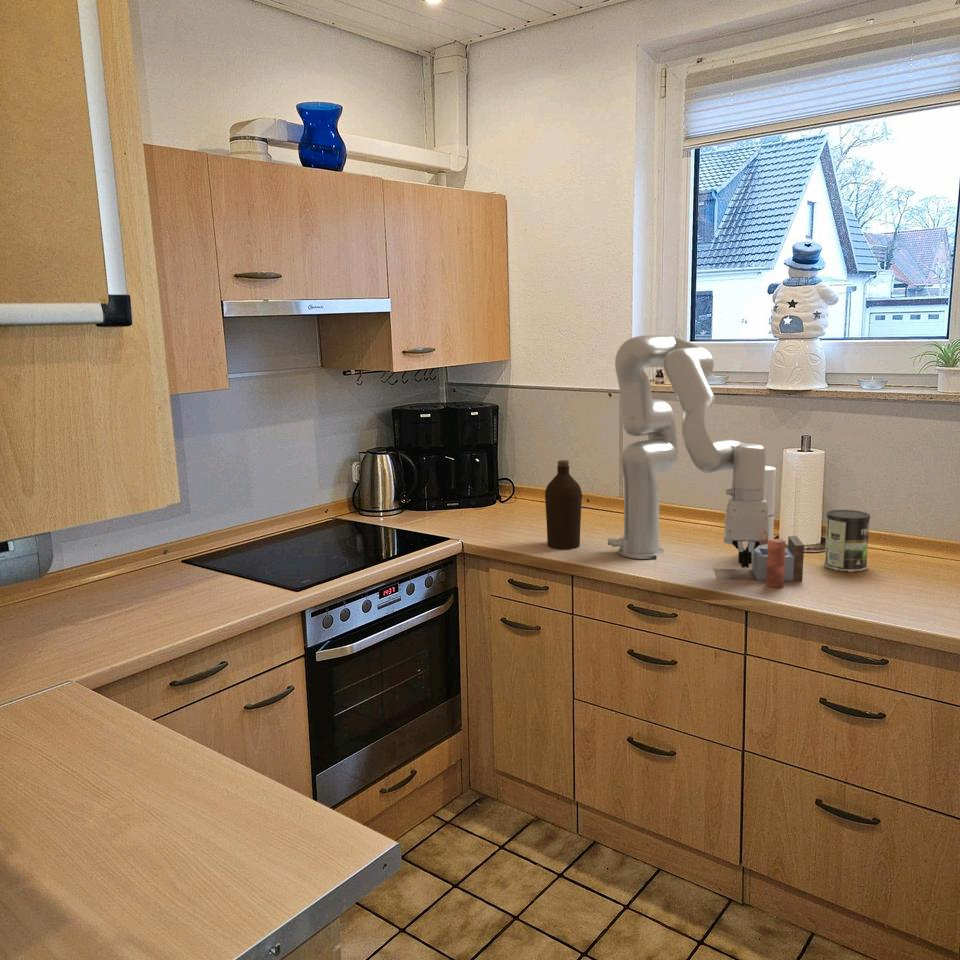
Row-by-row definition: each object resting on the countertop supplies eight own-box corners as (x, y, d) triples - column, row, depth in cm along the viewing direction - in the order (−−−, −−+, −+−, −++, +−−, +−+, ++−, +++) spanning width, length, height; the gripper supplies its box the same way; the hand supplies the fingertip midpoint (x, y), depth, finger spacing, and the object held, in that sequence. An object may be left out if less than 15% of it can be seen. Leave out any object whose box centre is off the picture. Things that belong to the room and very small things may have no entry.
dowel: (767, 592, 202) (769, 543, 200) (764, 586, 206) (766, 538, 203) (785, 592, 201) (787, 543, 199) (782, 587, 205) (784, 539, 203)
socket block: (757, 579, 208) (758, 556, 207) (752, 569, 216) (752, 547, 215) (793, 580, 206) (794, 557, 205) (787, 570, 215) (788, 547, 214)
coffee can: (869, 564, 222) (872, 511, 220) (863, 574, 214) (866, 519, 211) (827, 559, 228) (830, 507, 225) (820, 569, 219) (823, 515, 216)
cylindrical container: (773, 563, 225) (777, 470, 220) (745, 562, 226) (748, 470, 222) (770, 556, 232) (773, 465, 227) (743, 555, 233) (746, 465, 229)
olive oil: (563, 552, 240) (563, 465, 236) (537, 545, 248) (536, 461, 244) (589, 545, 247) (589, 460, 242) (563, 539, 255) (563, 456, 250)
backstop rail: (717, 583, 209) (718, 543, 208) (713, 572, 218) (714, 534, 216) (802, 585, 206) (804, 545, 204) (794, 574, 215) (796, 536, 213)
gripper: (717, 496, 206) (715, 569, 210) (782, 498, 203) (778, 571, 207) (715, 490, 213) (712, 560, 217) (777, 491, 211) (773, 563, 214)
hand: (744, 566), depth 212 cm, fingers closed
